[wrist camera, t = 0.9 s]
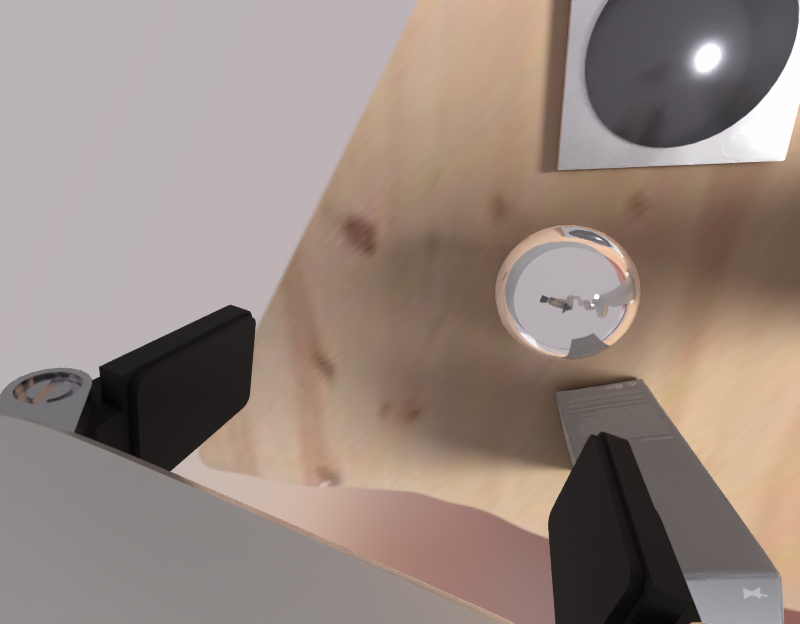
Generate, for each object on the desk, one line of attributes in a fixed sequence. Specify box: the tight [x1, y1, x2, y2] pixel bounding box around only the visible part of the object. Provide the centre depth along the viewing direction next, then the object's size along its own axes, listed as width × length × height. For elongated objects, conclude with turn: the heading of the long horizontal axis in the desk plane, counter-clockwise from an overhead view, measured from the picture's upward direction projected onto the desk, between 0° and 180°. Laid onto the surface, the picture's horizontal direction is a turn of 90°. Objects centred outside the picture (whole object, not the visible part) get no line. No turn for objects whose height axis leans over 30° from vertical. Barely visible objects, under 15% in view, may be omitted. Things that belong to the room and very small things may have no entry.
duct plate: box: [557, 0, 800, 170], centre depth 23 cm, size 12×12×1 cm
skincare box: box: [556, 379, 784, 624], centre depth 24 cm, size 8×7×16 cm
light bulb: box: [495, 225, 641, 360], centre depth 23 cm, size 7×7×12 cm
